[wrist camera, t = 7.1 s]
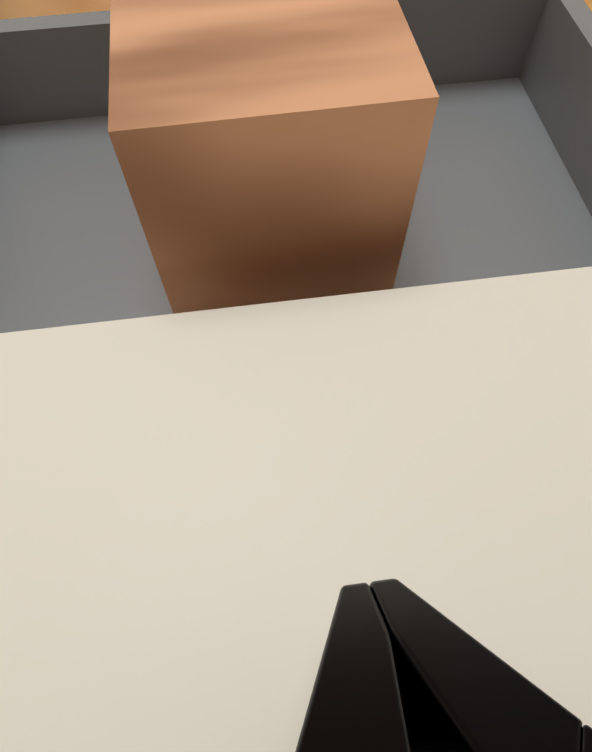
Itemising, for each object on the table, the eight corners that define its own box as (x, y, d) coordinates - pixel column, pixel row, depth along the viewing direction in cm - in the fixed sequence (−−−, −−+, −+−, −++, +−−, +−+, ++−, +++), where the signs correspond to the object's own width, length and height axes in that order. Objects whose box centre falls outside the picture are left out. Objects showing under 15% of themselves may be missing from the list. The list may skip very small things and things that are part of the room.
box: (654, 313, 18) (740, 226, 14) (-83, 401, 17) (-186, 329, 13) (526, 75, 24) (564, -27, 20) (-23, 126, 23) (-83, 26, 19)
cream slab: (913, 869, 11) (1099, 930, 9) (-187, 1069, 10) (-359, 1212, 7) (630, 316, 18) (687, 255, 15) (-57, 398, 17) (-124, 347, 14)
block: (439, 96, 12) (362, -82, 15) (108, 132, 11) (111, -61, 15) (391, 295, 18) (344, 133, 22) (176, 322, 17) (167, 152, 21)
